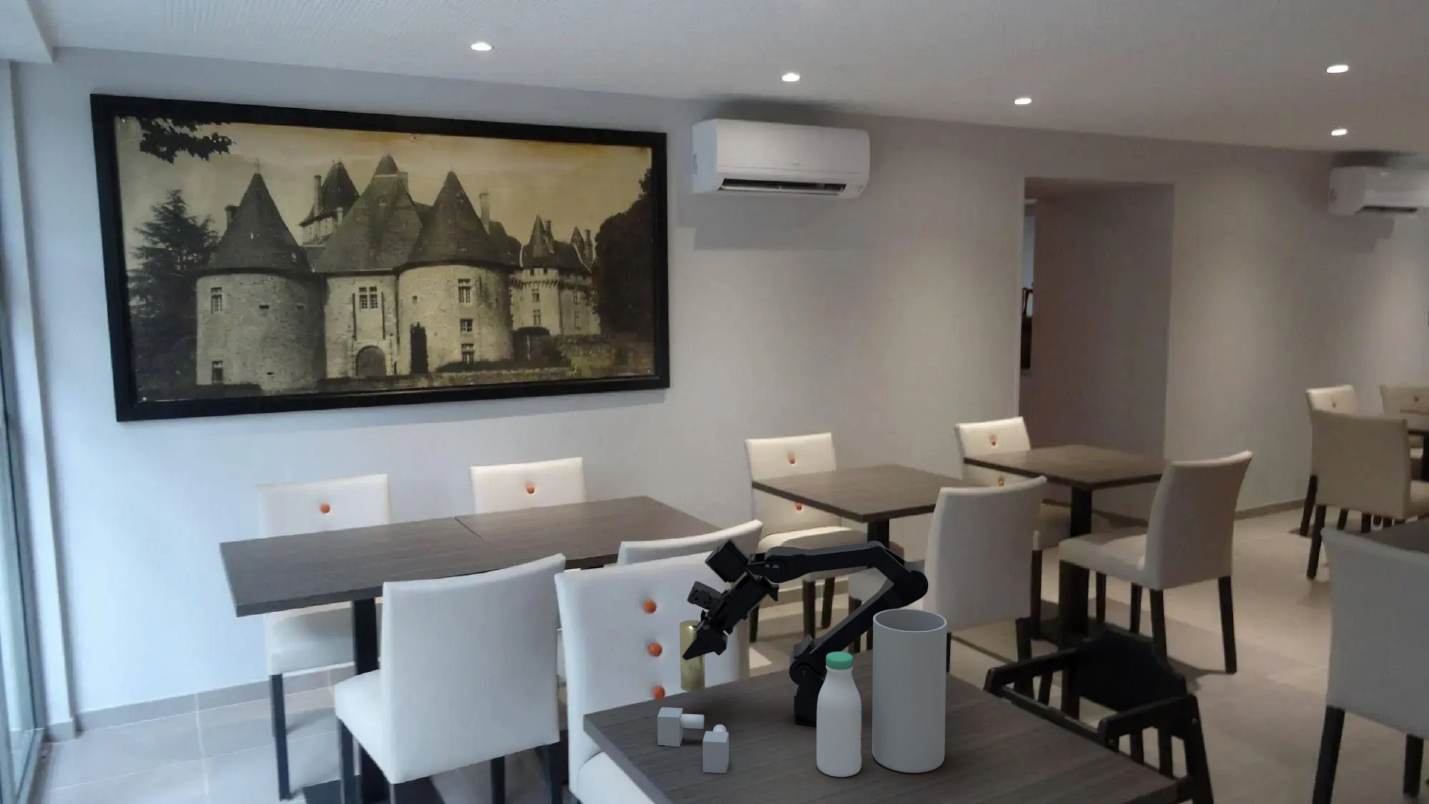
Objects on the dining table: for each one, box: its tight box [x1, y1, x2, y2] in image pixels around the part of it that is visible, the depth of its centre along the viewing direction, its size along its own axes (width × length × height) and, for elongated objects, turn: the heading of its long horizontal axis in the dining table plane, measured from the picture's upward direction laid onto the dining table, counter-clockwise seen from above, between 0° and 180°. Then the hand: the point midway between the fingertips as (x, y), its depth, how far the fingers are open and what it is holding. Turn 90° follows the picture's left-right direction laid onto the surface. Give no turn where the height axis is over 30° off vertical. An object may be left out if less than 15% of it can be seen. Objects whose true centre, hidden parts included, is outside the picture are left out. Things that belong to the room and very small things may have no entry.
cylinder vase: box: [871, 608, 948, 774], centre depth 170 cm, size 12×12×25 cm
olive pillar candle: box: [679, 619, 706, 693], centre depth 188 cm, size 5×5×12 cm
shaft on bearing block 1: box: [656, 707, 705, 748], centre depth 178 cm, size 8×4×6 cm, turn 83°
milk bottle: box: [816, 651, 863, 778], centre depth 167 cm, size 8×8×20 cm
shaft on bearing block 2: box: [702, 724, 730, 774], centre depth 170 cm, size 8×4×6 cm, turn 173°
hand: (685, 653), depth 188 cm, fingers closed on olive pillar candle, 5 cm apart
